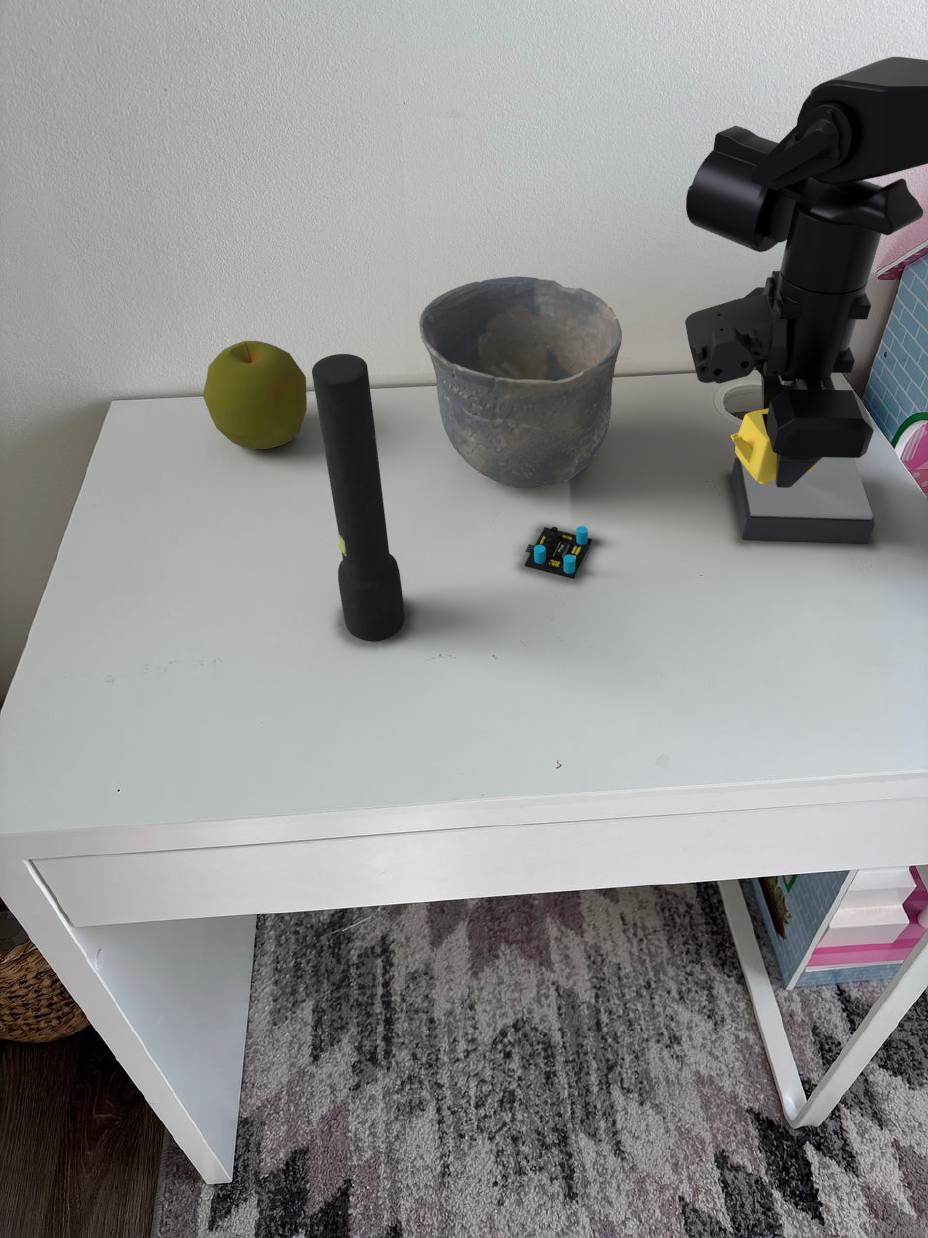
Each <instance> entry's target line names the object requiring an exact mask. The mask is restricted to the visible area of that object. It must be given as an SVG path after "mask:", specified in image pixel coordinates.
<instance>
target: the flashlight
mask: <svg viewBox="0 0 928 1238" xmlns="http://www.w3.org/2000/svg"><path fill="white" fill-rule="evenodd" d="M311 375H312V377H311V378H312V383H313V388H314V393H315V400H316V405H317V413H318V417H319V418H318V419H319V424H320V430H321V437H322V442H323V450H324V455H325V460H326V467H327V473H328V478H329V485H330V490H331V496H332V503H333V509H334V515H335V521H336V526H337V531H338V532H337V533H338V534H337V535H338V542H339V543H338V549H339V551H340V552H341V557H342V560H341V561H340V563H339V565H338V569H337V582H338V588H339V595H340V601H341V607H342V612H343V613H342V614H343V618H344V619H343V620H344V624H345V627H346V629H347V630H348V632H349V633H350V634H351V635H352V636H354V637H355V638H357V639H360V640H363V641H369V642H374V641H375V642H376V641H382V640H386V639H388V638H390V637H392V636H393V635H396V634H397V633H398V632H399V631H400V630H401V628H402V627H403V626H404V623H405V620H406V614H405V606H404V596H403V587H402V580H401V572H400V568H399V565H398V561H397V559H396V557H394V556H393V555H392V554H391V553H390V547H389V539H388V531H387V530H388V529H387V522H386V521H387V520H386V514H385V513H386V512H385V505H384V496H383V487H382V479H381V470H380V462H379V453H378V445H377V435H376V427H375V418H374V410H373V403H372V395H371V393H372V392H371V386H370V375H369V367H368V363H367V361H365V359H363V358H362V357H361V356H358V355H355V354H351V353H336V354H331V355H327V356H325V357H323V358H321V359H319V360H318V361H317V362H315V364H313V367H312V369H311Z"/></svg>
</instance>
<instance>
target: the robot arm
mask: <svg viewBox="0 0 928 1238" xmlns="http://www.w3.org/2000/svg"><path fill="white" fill-rule="evenodd" d="M783 137H784V138H783V139H781V140H780V142H776V141H773V140H770V139H767V138H765V137H762V136H759V135H757V134H755V133H754V132H753V131H752V130H750V129H748V128H745V127H742V126H739V125H734V126H731V127H728V128H726V129H724V130H721V131H718V132H717V133H716V134H715V136H714V143H713V149H712V151H710V152H709V153H708V155H707V156H706V157H705V158H704V160H703V161H702V163H701V164H700V166H699V167H698V169H697V171H696V173H695V175H694V178H693V181H692V184H691V185H690V186H689V187H687V188H688V189H687V193H686V198H685V210H686V216H687V218H688V220H689V222H690V223H691V224H692V225H693V226H695V227H696V228H697V227H698V228H700V229H702V230H704V231H707V232H709V233H712V234H714V235H716V236H718V237H722V238H724V239H726V240H728V241H731V242H732V243H735V244H738V245H741V246H742V247H745V248H748V249H750V250H752V251H755V252H757V253H764V252H767V251H769V250H771V249H773V248H774V247H775V246H777V244H781V243H784V242H785V248H784V252H783V256H782V261H781V266H780V270H772V272H771V276H767V277H766V279H765V284H764V287H763V286H762V287H761V286H760V287H759V286H758V287H755V288H754V289H753V290H751V291H750V292H748V294H747V295H745V296H744V297H740V298H735V299H732V300H730V301H729V300H728V301H727V302H726V301H725V302H722V303H719V304H717V305H714V306H709V307H706V308H704V309H701V310H697V311H695V312H692V313H690V314H689V315H688V316H687V317H686V318H685V321H684V325H685V329H686V335H687V341H688V346H689V349H690V354H691V356H692V357H691V358H692V361H693V365H694V369H695V374H696V377H697V379H698V381H699V382H700V383H702V384H703V383H704V384H710V383H711V384H712V383H716V384H718V385H719V384H724V383H727V382H731V381H734V380H735V381H736V380H739V379H742V378H745V377H748V376H750V375H751V374H752V372H753V371H754V369H755V370H756V371H757V373H759V374H760V381H761V406H762V410H763V409H768V408H769V410H768V414H762V417H763V421H764V425H765V429H766V432H767V435H768V437H769V439H770V443H771V447H772V450H773V452H775V453H776V454H777V461H776V486H777V487H779V488H789V487H791V486H792V485H794V484H795V483H796V482H797V481H798V480H799V479H800V478H801V477H802V476H803V475H804V474H805V473H806V472H807V471H809V470H810V469H811V468H812V467H813V466H814V465H815V464H816V463H817V462H818V461H819V460H820V459H822V458H823V457H833V458H854V459H860V458H861V457H863V456H864V455H866V454H867V452H868V449H869V446H870V443H871V440H872V436H873V434H874V427H873V424H872V422H871V419H870V417H869V414H868V411H867V409H866V407H865V404H864V401H863V400H862V399H861V398H860V396H858V394H857V393H856V392H855V391H854V390H853V389H836V387H835V384H834V381H833V379H832V374H851V373H852V371H853V369H854V366H855V361H856V359H855V357H854V355H853V352H852V350H851V346H850V344H851V341H852V337H853V334H854V330H855V327H856V324H857V320H868V319H869V314H870V312H871V308H872V305H871V302H870V300H869V297H868V296H867V295H868V294H867V293H866V290H867V286H868V282H869V278H870V275H871V272H872V268H873V265H874V261H875V257H876V254H877V252H878V247H879V244H880V240H881V238H882V235H883V236H890V235H893V234H894V233H896V232H898V231H900V230H902V229H904V228H906V227H908V226H910V225H912V224H913V223H915V222H917V221H919V220H920V219H922V218H923V216H924V209H923V207H922V205H920V202H919V201H918V200H917V198H916V197H915V196H914V195H913V194H912V193H911V192H910V190H909V187H908V183H907V181H906V179H905V178H898V179H896V180H895V181H893V182H891V183H889V184H887V185H884V186H882V185H879V184H876V183H873V182H871V181H867V180H870V179H874V178H879V177H880V178H881V177H885V176H888V175H891V174H895V173H899V172H902V171H907V170H910V169H915V168H917V167H921V166H925V165H928V59H922V58H913V57H904V56H890V57H887V58H883V59H880V60H877V61H873V62H872V63H869V64H867V65H864V66H861V67H859V68H856V69H854V70H851V71H849V72H846V73H844V74H841V75H839V76H836V77H834V78H831V79H829V80H825V81H824V82H821V83H819V84H818V85H816V86H814V87H812V89H811V90H810V93H809V95H807V97H806V99H805V100H804V102H803V103H802V105H801V108H800V110H799V112H798V115H797V120H796V125H794V127H793V128H792V129H791V130H790V131H789V132H788V133H787V134H786V135H785V136H783Z"/></svg>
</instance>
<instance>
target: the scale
mask: <svg viewBox="0 0 928 1238" xmlns="http://www.w3.org/2000/svg"><path fill="white" fill-rule="evenodd" d="M730 480H731V485H732V490H733V498H734V502H735V508H736V514H737V520H738V525H739V531H740V536H741V540H745V541H746V540H747V541H774V542H775V541H778V542H779V541H781V542H809V543H811V542H812V543H839V544H840V543H841V544H842V543H844V544H868V543H869V541H870V539H871V536H872V534H873V530H874V527H875V525H876V522H875V518H874V515H873V511H872V509H871V506H870V502H869V500H868V497H867V493H866V491H865V490H866V489H865V486H864V484H863V481H862V478H861V474H860V471H859V468H858V465H857V463H856V458H833V457H823V458H822V459H820V460H819V461H818V462H817V463H816V464H815V466H814V468H813V470H812V471H811V472H808V473H805V474H804V475H803V476H802V477H801V478H800V479H799V480H798V481H797V482H796V483H795V484H794V485H792V486H791V487H789V488H779V487H777V486H776V479H775V480H771V482H770V483H769V484H766V485H764V484H761V483H759V482H758V481H756V480H755V479H754V478H753V477H752V475H751V474H750V473H749V471H748V470H747V469H746V468H745V466H744V465H743V463H742V462H741V461H740V459H739V458H738V457H735V458H734V462H733V466H732V471H731V475H730Z"/></svg>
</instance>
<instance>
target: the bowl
mask: <svg viewBox="0 0 928 1238" xmlns="http://www.w3.org/2000/svg"><path fill="white" fill-rule="evenodd" d="M620 323H621V322H620V321H619V318H618V317H617V315H616V314H615V312H614V310H613V308H612V307H611V306H609V305H608V303H606V302H605V301H604V300H603V299H602V298H601V297H599V296H597V294H594V293H593V292H590V291H588V290H586V289H584V288H582V287H576V288H574V287H567V286H563V285H562V284H560V283H559V282H557V281H556V280H553V279H542V278H538V277H530V276H517V275H516V276H507V277H506V276H505V277H497V278H489V279H484V280H482V281H473V282H469V283H465V284H463V285H460V286H457V287H455V288H453V289H450V290H449V291H446V292H444V293H441V294H440V295H439V296H437V297H435V298H434V299H432V300H431V301H430V302H429V303H428V304H427V305H426V306H425V307H424V309H423V311H422V312H421V314H420V316H419V321H418V324H419V325H418V326H419V327H418V328H419V334H420V335H419V336H420V339H421V342H423V344H424V346H425V348H426V351H427V352H428V354H429V357H430V360H431V363H432V366H433V370H434V374H435V379H436V391H437V401H438V402H437V403H438V406H439V415H440V418H441V422H442V426H443V428H444V431H445V433H446V435H447V437H448V440H449V442H450V444H451V445H452V447H453V449H455V451H456V453H458V454H459V455H460V457H461V458H462V459H463V460H464V461H465V462H466V463H467V464H468V465H469V466H470V467H471V468H473V469H474V470H475V471H477V472H478V473H480V474H481V475H483V476H484V477H487V478H489V479H490V480H492V481H495V482H497V483H499V484H501V485H505V486H508V487H514V488H518V489H537V488H539V489H540V488H544V487H549V486H554V485H556V484H561V483H563V482H566V481H568V480H570V479H572V478H573V477H575V476H576V475H578V474H579V473H580V472H582V470H584V469H585V468H586V467H587V466H588V465H589V464H590V463H591V462H592V461H593V460H594V458H595V457H596V455H597V454H598V452H599V451H600V450H601V448H602V446H603V444H604V442H605V440H606V436H607V434H608V429H609V426H610V425H609V424H610V421H611V414H612V405H613V404H612V403H613V402H612V401H613V399H612V392H613V391H612V390H613V389H612V388H613V381H614V375H615V369H616V364H617V360H618V356H619V352H620V349H621V346H622V341H623V340H622V337H623V336H622V335H623V332H622V327H621V324H620Z"/></svg>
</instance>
